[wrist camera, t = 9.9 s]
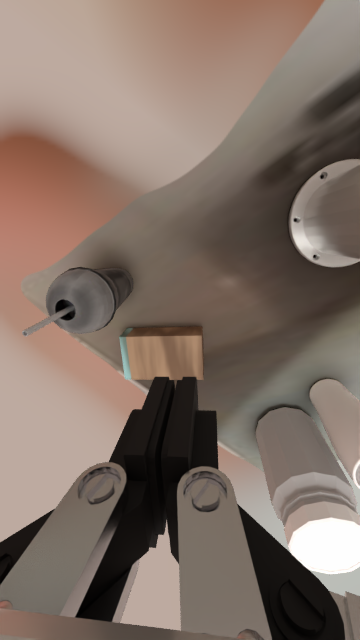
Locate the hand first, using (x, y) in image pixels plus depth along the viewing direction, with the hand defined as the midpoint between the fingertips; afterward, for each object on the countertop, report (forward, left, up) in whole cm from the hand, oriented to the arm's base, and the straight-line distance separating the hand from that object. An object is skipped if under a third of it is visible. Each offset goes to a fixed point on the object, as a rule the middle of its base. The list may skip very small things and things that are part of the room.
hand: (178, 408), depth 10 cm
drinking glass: (-19, +18, -29) cm, 39 cm away
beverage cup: (+12, -1, -29) cm, 32 cm away
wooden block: (0, +10, -27) cm, 29 cm away
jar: (-13, +25, -29) cm, 41 cm away
